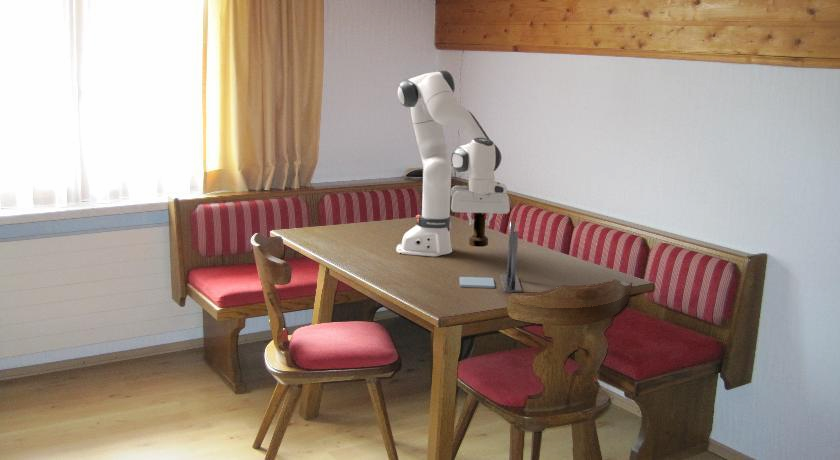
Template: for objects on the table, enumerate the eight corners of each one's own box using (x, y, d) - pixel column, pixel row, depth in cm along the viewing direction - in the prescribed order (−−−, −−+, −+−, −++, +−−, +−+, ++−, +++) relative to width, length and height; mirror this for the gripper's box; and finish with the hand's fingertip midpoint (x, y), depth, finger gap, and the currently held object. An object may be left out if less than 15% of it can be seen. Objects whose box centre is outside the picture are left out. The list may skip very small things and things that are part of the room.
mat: (460, 287, 298) (460, 284, 298) (459, 278, 308) (459, 276, 308) (494, 288, 298) (494, 285, 298) (492, 280, 308) (492, 277, 308)
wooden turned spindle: (475, 241, 305) (477, 191, 300) (491, 244, 301) (494, 193, 297) (465, 244, 299) (467, 194, 295) (481, 247, 296) (484, 196, 292)
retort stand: (504, 292, 294) (507, 232, 289) (500, 277, 312) (503, 220, 308) (521, 293, 294) (525, 233, 289) (516, 277, 312) (520, 221, 308)
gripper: (451, 186, 292) (449, 226, 296) (511, 188, 292) (509, 228, 295) (450, 183, 299) (449, 222, 302) (509, 185, 298) (507, 224, 302)
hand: (479, 225), depth 299 cm, fingers closed on wooden turned spindle, 4 cm apart
